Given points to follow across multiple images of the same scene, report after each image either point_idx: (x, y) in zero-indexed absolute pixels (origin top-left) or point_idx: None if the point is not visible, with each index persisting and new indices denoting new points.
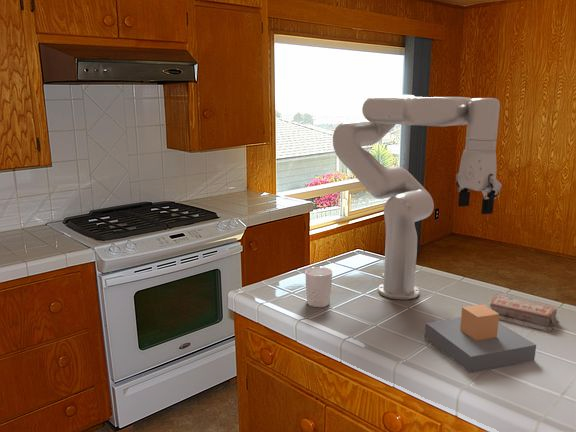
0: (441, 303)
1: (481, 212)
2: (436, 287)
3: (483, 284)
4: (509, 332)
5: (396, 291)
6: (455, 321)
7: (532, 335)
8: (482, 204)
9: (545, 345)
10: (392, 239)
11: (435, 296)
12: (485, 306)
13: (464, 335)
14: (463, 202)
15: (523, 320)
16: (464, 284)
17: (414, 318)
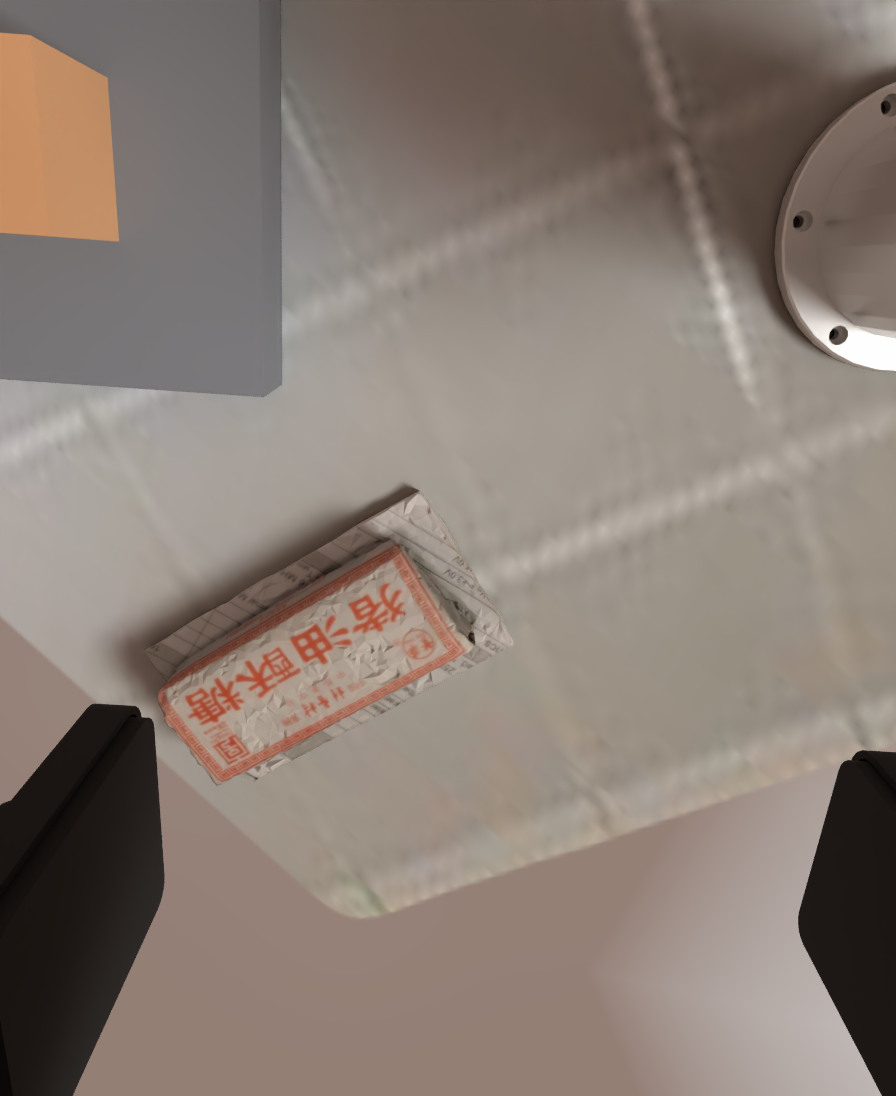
0: (637, 386)
1: (120, 711)
2: (840, 517)
3: (736, 776)
4: (12, 345)
5: (868, 147)
6: (220, 136)
7: (141, 549)
8: (20, 829)
9: (38, 525)
10: None
11: (736, 421)
12: (9, 226)
13: None
14: (865, 874)
15: (259, 612)
16: (789, 690)
17: (529, 67)
